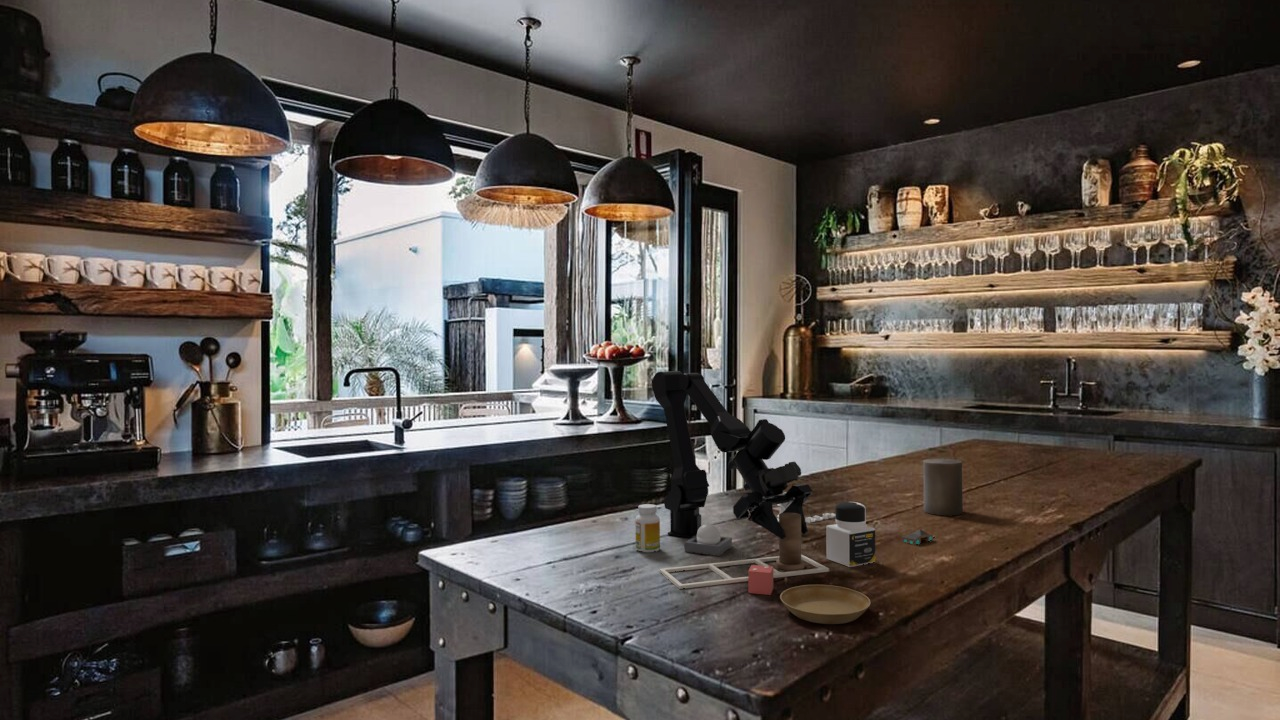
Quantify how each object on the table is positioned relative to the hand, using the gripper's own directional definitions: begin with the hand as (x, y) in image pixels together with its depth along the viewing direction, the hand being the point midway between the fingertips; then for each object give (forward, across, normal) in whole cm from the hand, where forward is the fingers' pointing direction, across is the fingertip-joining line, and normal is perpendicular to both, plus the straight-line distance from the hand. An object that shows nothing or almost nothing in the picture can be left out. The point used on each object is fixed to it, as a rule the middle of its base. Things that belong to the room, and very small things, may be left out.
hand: (795, 535), depth 150 cm
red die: (+9, -15, +1) cm, 18 cm away
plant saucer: (+19, -15, -9) cm, 26 cm away
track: (+1, -10, +8) cm, 13 cm away
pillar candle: (-2, +69, +12) cm, 70 cm away
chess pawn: (-12, +22, +21) cm, 33 cm away
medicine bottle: (+7, +13, +2) cm, 15 cm away
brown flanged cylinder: (+4, 0, +6) cm, 7 cm away
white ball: (-11, -4, +19) cm, 23 cm away
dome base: (-10, -4, +20) cm, 23 cm away
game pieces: (-7, +38, +17) cm, 42 cm away
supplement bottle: (-16, -15, +26) cm, 34 cm away
